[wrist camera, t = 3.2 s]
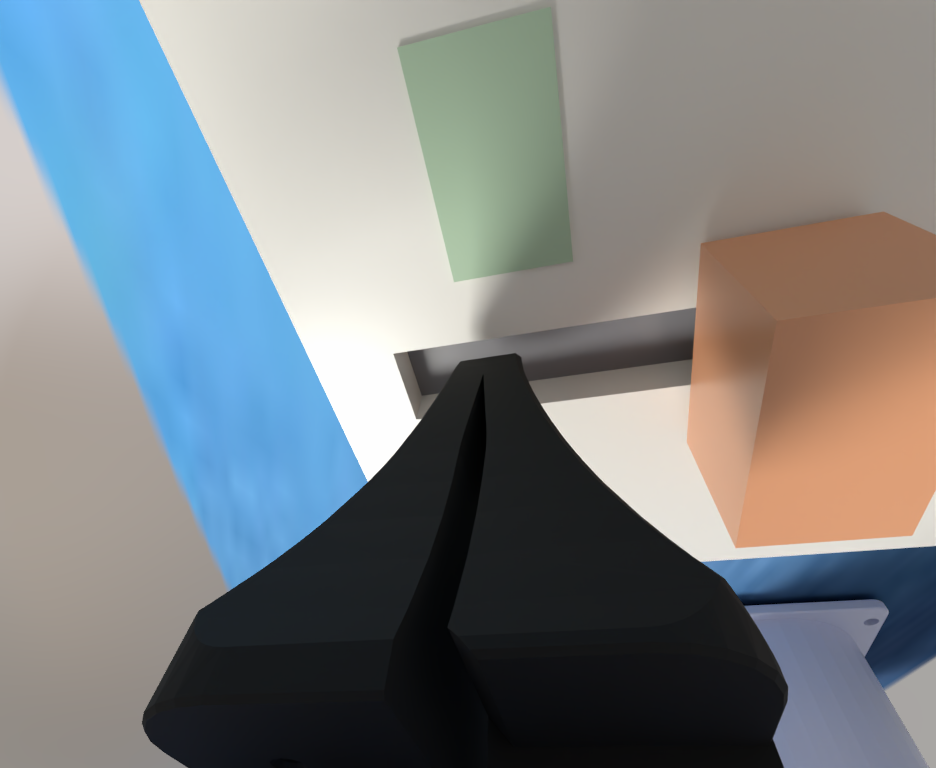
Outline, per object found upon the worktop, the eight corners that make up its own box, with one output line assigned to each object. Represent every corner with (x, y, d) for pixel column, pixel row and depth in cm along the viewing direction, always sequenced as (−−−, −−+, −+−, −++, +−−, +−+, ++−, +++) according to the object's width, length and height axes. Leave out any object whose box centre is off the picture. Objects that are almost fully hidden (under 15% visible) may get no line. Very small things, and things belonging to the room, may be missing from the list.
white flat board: (1048, 479, 15) (1119, 536, 13) (423, 532, 18) (414, 583, 16) (1704, -458, 6) (2232, -678, 4) (202, 1, 9) (132, -7, 7)
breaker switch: (800, 400, 12) (912, 535, 9) (674, 415, 12) (735, 548, 9) (849, 196, 9) (1043, 282, 6) (684, 226, 10) (776, 320, 6)
